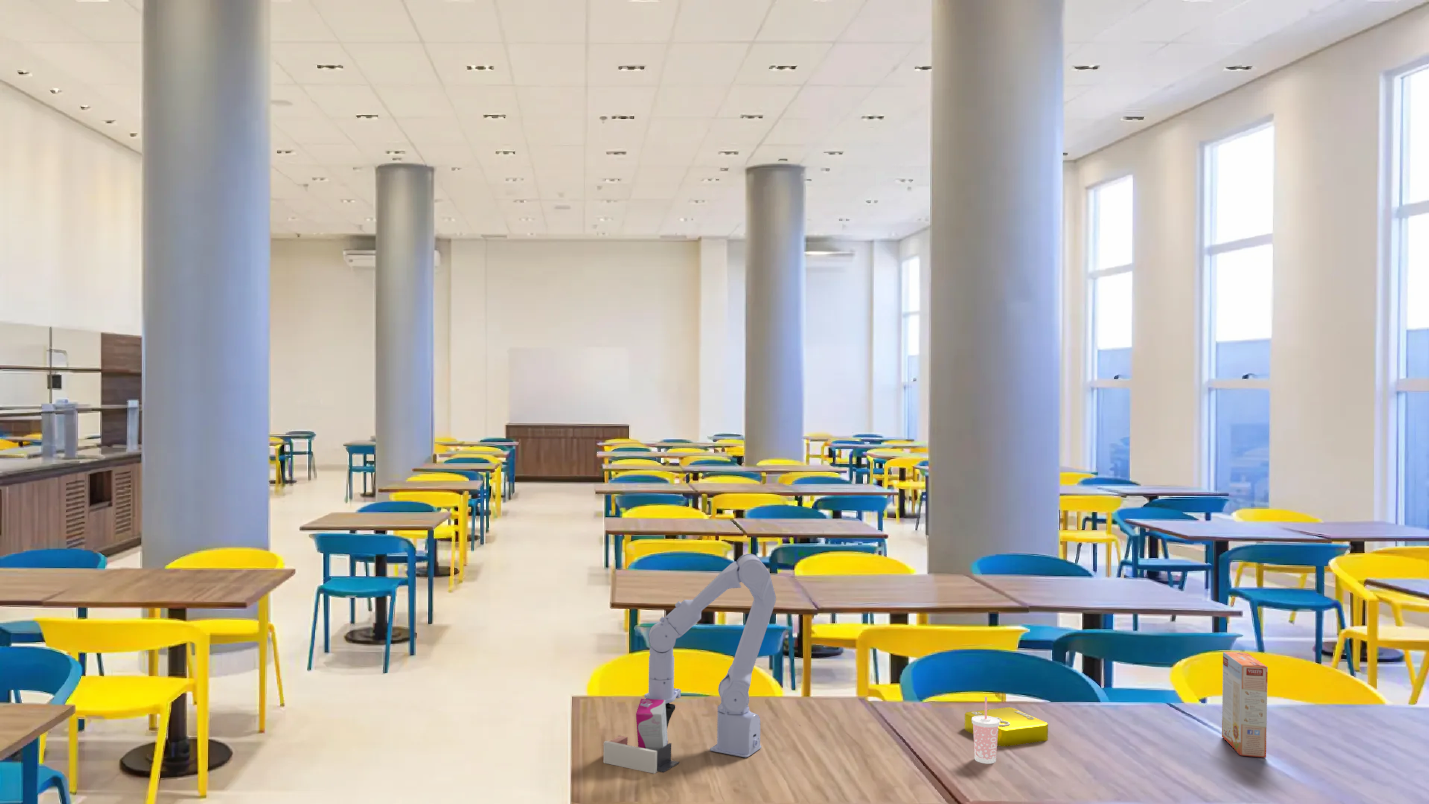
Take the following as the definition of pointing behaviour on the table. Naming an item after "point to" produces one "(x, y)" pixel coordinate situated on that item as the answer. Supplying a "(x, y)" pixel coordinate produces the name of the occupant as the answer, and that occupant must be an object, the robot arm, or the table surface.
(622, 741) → the pink rectangular block
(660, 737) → the supplement box
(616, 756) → the shelf wall
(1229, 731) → the cracker box
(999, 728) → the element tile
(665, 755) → the bookend
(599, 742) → the table surface
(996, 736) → the beverage cup
